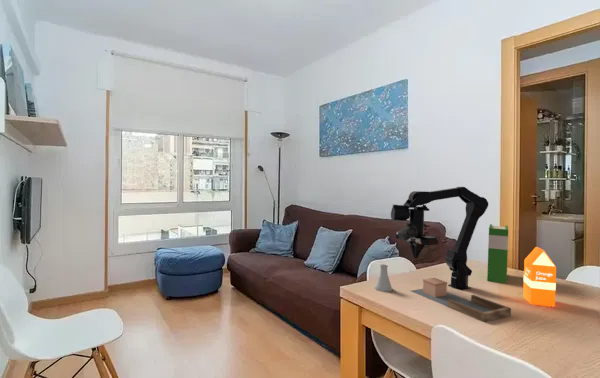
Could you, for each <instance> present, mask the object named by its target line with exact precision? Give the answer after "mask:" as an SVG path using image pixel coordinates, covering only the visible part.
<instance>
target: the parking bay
mask: <svg viewBox="0 0 600 378" xmlns="http://www.w3.org/2000/svg"><path fill="white" fill-rule="evenodd" d="M470 296H471V297H470V301H471V302H472V303H475V304H477V305H480V306H483V307H485V308H488V309H491V311H487V312H481V311H479V310H476V309H474V308H471V307H469V306H466V305H464V304H461V303H459V302H456V301H453V300H451V299H449V300H448V307H447V308H449V309H451V310H454V311H457V312H460V313H461V314H464V315H466V316H469V317H471V318H474V319H476V320H479V322H482V321H483V323H487V322H490V321H495V320H498V319H499V320H500V319H503V318H507V317H511V316H512V308H511V307H509V306H505V305H503V304H500V303H497V302H495V301H492V300H489V299H486V298H484V297H480V296H477V295H475V294H473V295H470Z"/></svg>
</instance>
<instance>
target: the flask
mask: <svg viewBox="0 0 600 378" xmlns="http://www.w3.org/2000/svg"><path fill="white" fill-rule="evenodd" d="M379 267H380V268H379V269H380V270H379V275H378V277H377V280H376V283H375V285H374V289H375V290H376V291H377V292H378V291H379V292H384V293H385V292H392V290H393V287H392V284H391V281H390V279H389V275H388V264H384V263H383V264H382V263H381V264H379Z"/></svg>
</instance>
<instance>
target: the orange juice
mask: <svg viewBox="0 0 600 378" xmlns="http://www.w3.org/2000/svg"><path fill="white" fill-rule="evenodd" d="M523 264H524V266H523V291H522V292H523V293H522V297H523V298H524V299H525V300H526V301H527V302H528V303H529V304H530V305H536V306H544V307H551V306H552V308H555V306H556V290H557V289H556V288H557V283H556V282H557V266H556V265H555V264H554V262H553V261H552V259H551V258H550V257H549V255H548V254H547V253H546V251H545V250H544V249H542V248H540V247H538V246H535V247H534V248H533V249H532V251H530V253H529V254H528V255H527V256H526V257H525V259H524V261H523Z"/></svg>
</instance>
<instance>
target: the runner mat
mask: <svg viewBox="0 0 600 378" xmlns="http://www.w3.org/2000/svg"><path fill="white" fill-rule="evenodd" d="M410 292H412V293H414V294H416V295H419V296H421V297H423V298H426V299H428V300H431V301H433V302H435V303H438V304H440V305H442V306H445V307H447V308H449V307H448V300H449V299H451V300H453V301H456V302H459V303H461V304H464V305H466V306H469V307H471V308H474V309H476V310H479V311H481V312H487V311H491V309H488V308H485V307H483V306H480V305H477V304H475V303H472V302H471V299H470V300H469V299H468V298H465V297H461V296H459V295H456V294H453V293H451V292H448V291H447V292H446V295H445V296H439V297H433V296H431V295H428V294H426V293H423V288H417V289H412V290H411V289H410ZM481 322H483V321H481ZM483 323H484V322H483Z"/></svg>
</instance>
